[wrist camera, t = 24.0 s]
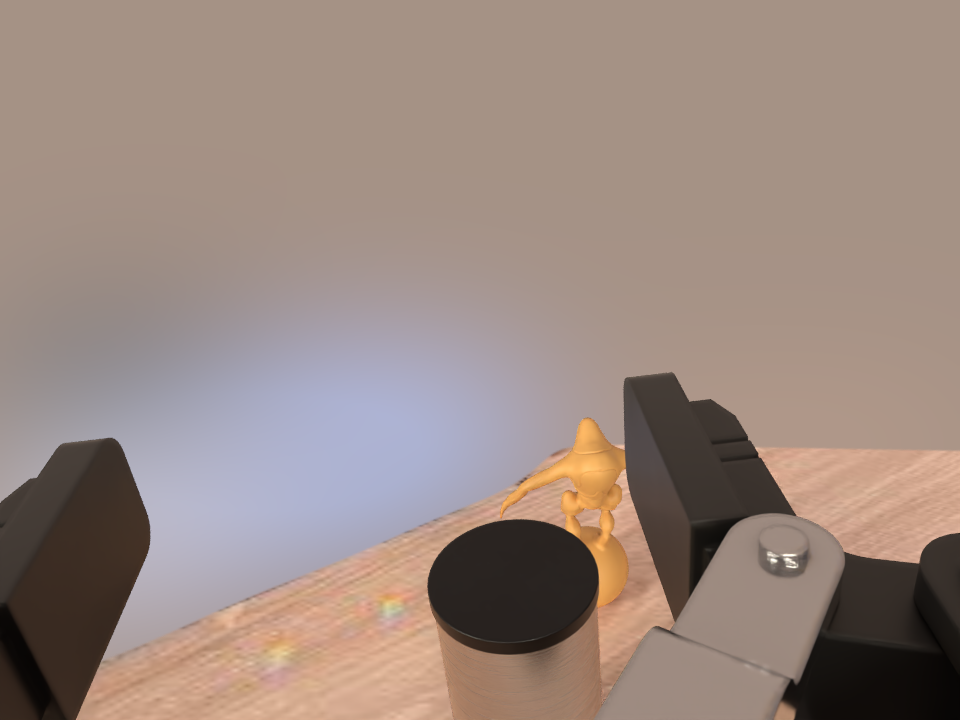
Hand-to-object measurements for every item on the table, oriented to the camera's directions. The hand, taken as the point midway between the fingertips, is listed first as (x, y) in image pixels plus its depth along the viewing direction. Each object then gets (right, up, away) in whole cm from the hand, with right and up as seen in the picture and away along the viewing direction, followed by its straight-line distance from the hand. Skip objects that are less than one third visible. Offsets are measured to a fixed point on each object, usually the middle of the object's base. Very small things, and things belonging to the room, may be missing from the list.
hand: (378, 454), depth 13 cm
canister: (+4, -16, +20) cm, 26 cm away
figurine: (+7, -11, +28) cm, 31 cm away
